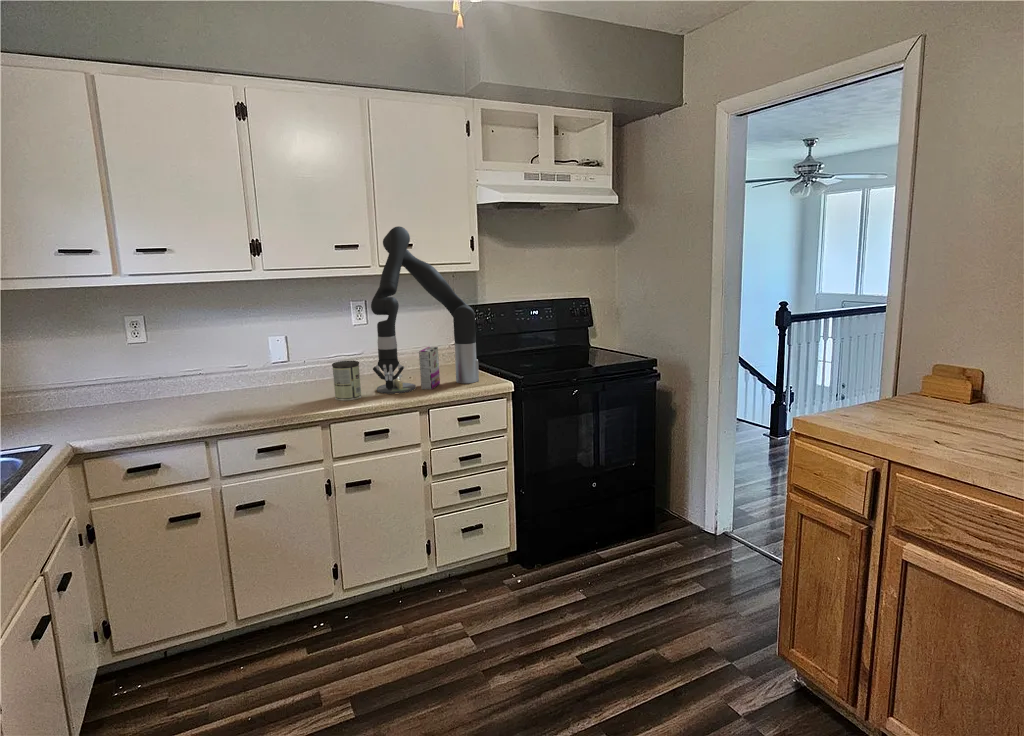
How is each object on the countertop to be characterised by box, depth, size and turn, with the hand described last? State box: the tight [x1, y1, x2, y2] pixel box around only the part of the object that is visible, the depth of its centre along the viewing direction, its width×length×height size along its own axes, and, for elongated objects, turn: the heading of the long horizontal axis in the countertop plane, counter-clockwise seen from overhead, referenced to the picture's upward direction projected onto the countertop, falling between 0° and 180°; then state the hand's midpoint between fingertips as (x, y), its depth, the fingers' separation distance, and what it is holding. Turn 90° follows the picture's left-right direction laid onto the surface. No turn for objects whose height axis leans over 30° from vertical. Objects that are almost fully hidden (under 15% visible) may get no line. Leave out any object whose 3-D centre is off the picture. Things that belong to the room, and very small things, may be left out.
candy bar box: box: [418, 346, 441, 391], centre depth 249 cm, size 11×5×16 cm, turn 168°
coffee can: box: [331, 360, 362, 402], centre depth 234 cm, size 10×10×14 cm
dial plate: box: [376, 382, 416, 395], centre depth 247 cm, size 16×16×1 cm
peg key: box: [393, 372, 404, 389], centre depth 243 cm, size 12×5×5 cm, turn 23°
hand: (389, 389), depth 239 cm, fingers closed
